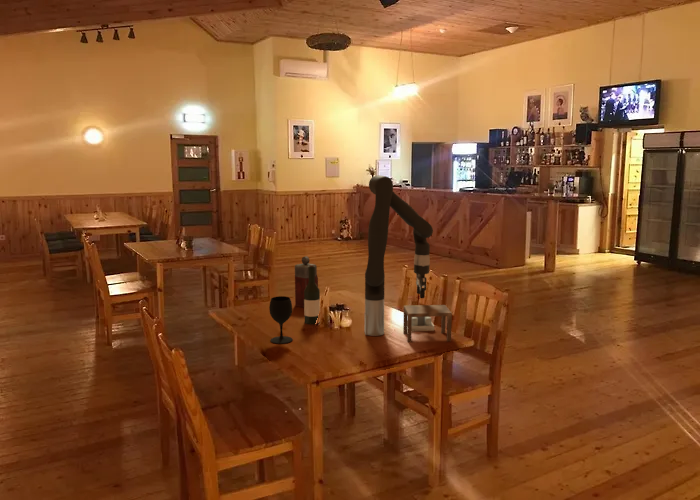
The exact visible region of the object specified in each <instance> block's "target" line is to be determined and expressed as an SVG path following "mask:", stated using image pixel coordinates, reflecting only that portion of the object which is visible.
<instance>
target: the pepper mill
mask: <svg viewBox="0 0 700 500" xmlns="http://www.w3.org/2000/svg"><path fill="white" fill-rule="evenodd" d="M301 262H302V263H299V264H298V263H297V264H295V265H294V299H295V301H294V304H295V306H297V307H301V308H304V290H305V288H306V286H307V285H308V283H309V271H308V267H309V265H310V264H311V263H310V258H309V256H303V257H302V258H301ZM312 264H313V265H314V266H315V283H316V285H317V286H318V287H319V278H318V273H317V272H318V269H317V267H318V266H317V264H315V263H312Z"/></svg>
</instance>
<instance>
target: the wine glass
mask: <svg viewBox="0 0 700 500" xmlns="http://www.w3.org/2000/svg"><path fill="white" fill-rule="evenodd" d="M292 304H293V303H292V300H291V297H289V296H284V295H279V296H273V297H271V298H270V302H269V314H270V316H271V318H272V319H273V321H275V322H276V323H277V324H279V329H280V331H279V334H280V335H279V336H275V337H272V338H271V339H270V340H269V341H270V342H271V343H272V344H276V345H285V344H289V343H292V342H293V341H294V340H293V337H290V336H286V335H285V336H284V335H283V334H284V333H283V327H284V323H286V322H287V321H288V320H289V319H290V318H291V315H292V313H293V305H292Z"/></svg>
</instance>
